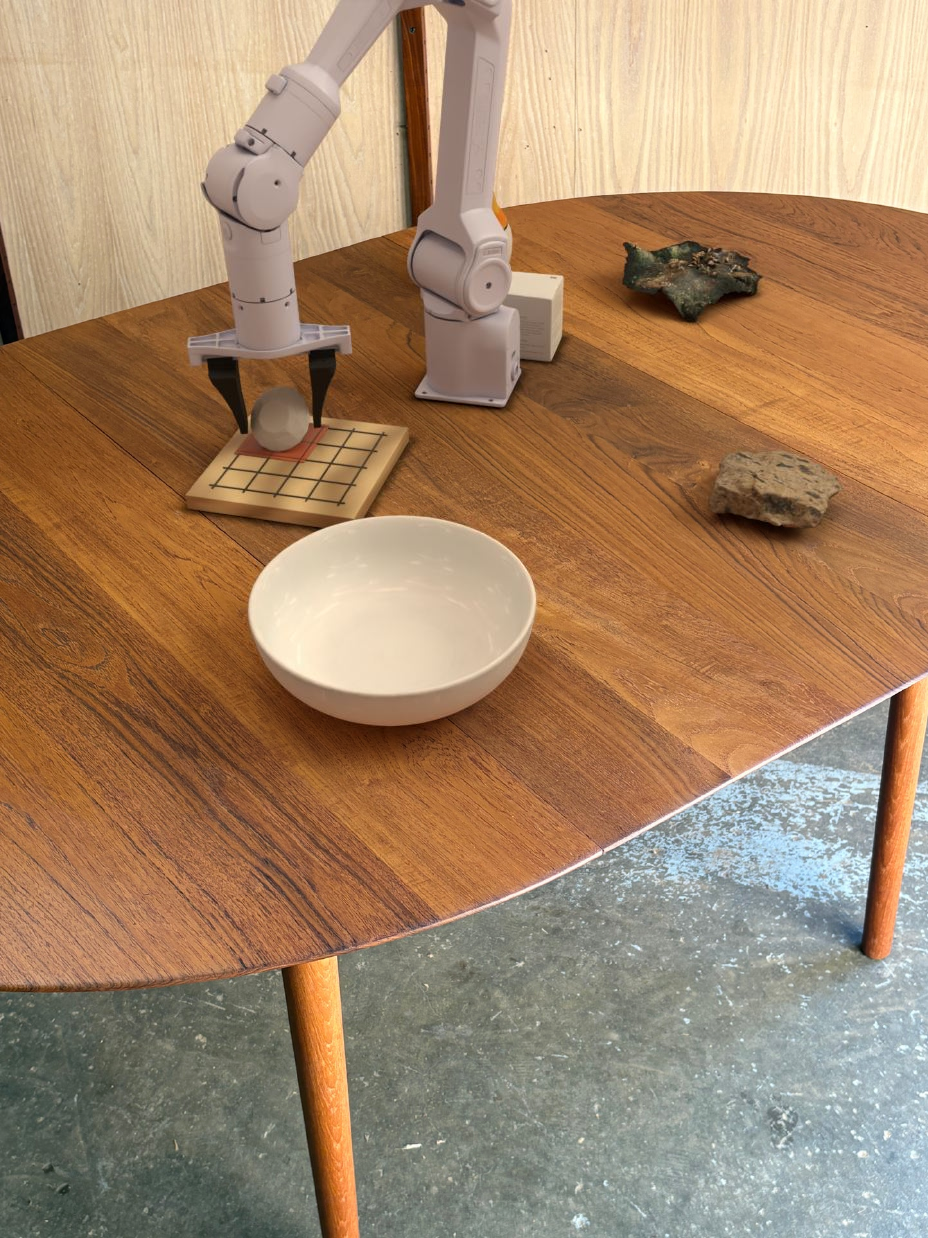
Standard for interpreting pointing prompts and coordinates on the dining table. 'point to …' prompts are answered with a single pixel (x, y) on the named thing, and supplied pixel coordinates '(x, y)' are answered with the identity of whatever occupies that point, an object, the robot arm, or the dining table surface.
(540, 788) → the dining table surface
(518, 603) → the serving bowl
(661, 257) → the decorative rock
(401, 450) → the board
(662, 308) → the dining table surface
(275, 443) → the gemstone
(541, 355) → the product box
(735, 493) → the rock
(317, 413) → the robot arm
